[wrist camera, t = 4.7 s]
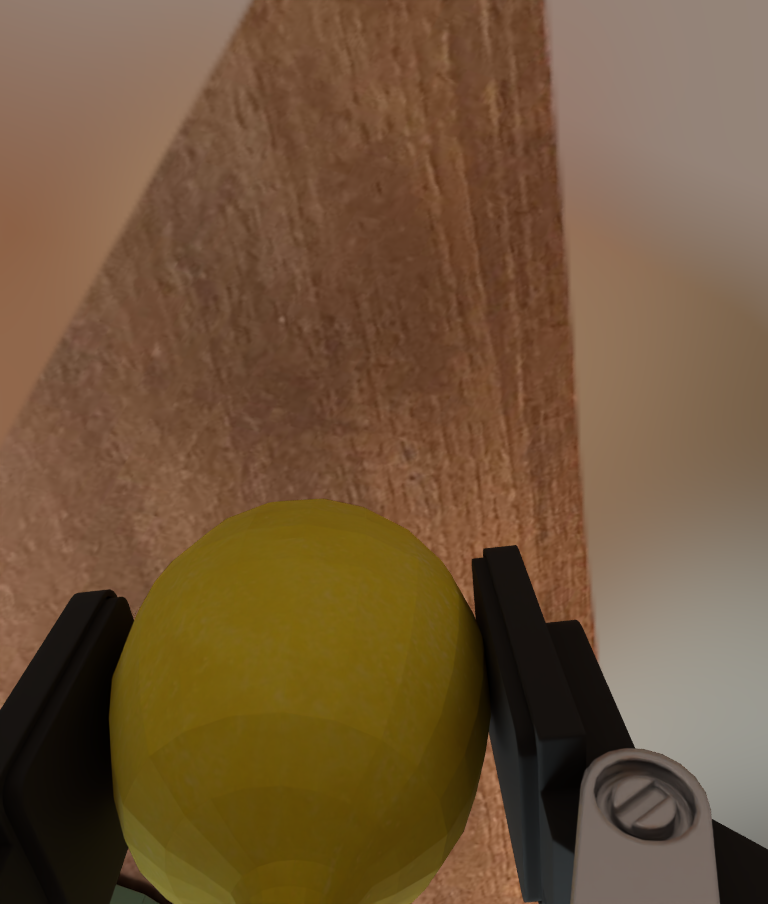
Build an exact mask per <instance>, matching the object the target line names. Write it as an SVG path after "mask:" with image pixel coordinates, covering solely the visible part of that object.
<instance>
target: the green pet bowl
mask: <svg viewBox="0 0 768 904" xmlns="http://www.w3.org/2000/svg"><path fill="white" fill-rule="evenodd" d="M110 904H159V903H158V902H156V901H155V900H153V899H151V898H150V897H148V896H147V895H145V894H142V893H139V892H137V891H134V890H131V889H128V888H125V887H122V886H119V885H117V884H116V886H115V889H114V892H113V895H112V898H111V901H110Z"/></svg>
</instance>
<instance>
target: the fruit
mask: <svg viewBox="0 0 768 904" xmlns="http://www.w3.org/2000/svg"><path fill="white" fill-rule="evenodd" d="M490 719H491V707H490V692H489V683H488V675H487V667H486V658H485V650H484V643H483V637H482V634H481V632H480V629H479V627H478V624H477V622H476V619H475V617H474V614H473V612H472V610H471V609H470V607H469V605H468V603H467V602H466V600H465V598H464V596H463V595H462V593H461V591H460V589H459V588H458V586H457V584H456V582H455V581H454V579H453V577H452V575H451V574H450V572H449V571H448V569H447V568H446V567H445V565H444V564H443V562H442V561H441V560H440V559H439V558H438V557H437V556H436V555H435V554H434V553H433V552H431V551H430V550H429V549H428V548H427V547H426V546H425V545H424V544H423V543H422V542H421V541H420V540H419V539H417V538H416V537H415V536H414V535H413V534H412V533H411V532H410V531H409V530H408V529H406V528H404V527H402V526H400V525H398V524H396V523H394V522H392V521H390V520H388V519H386V518H384V517H382V516H380V515H378V514H376V513H374V512H372V511H370V510H368V509H366V508H364V507H360V506H356V505H351V504H346V503H342V502H337V501H332V500H328V499H308V500H292V501H279V502H270V503H267V504H264V505H261V506H259V507H256V508H254V509H251V510H248V511H246V512H243V513H240V514H238V515H235V516H232V517H230V518H227V519H226V520H224V521H223V522H221V523H220V524H219V525H217V526H216V527H215V528H213V529H212V530H211V531H209V532H208V533H207V534H205V535H204V536H203V537H202V538H201V539H199V540H198V541H197V542H196V543H194V544H193V545H192V546H191V547H189V548H188V549H187V550H186V551H184V552H183V553H182V554H181V555H180V556H178V557H177V558H176V559H175V560H173V561H172V562H171V563H170V564H169V566H168V567H167V568H166V569H165V570H164V571H163V573H162V574H161V575H160V576H159V577H158V579H157V580H156V581H155V582H154V584H153V586H152V588H151V589H150V591H149V593H148V595H147V597H146V598H145V600H144V602H143V604H142V606H141V607H140V609H139V611H138V613H137V615H136V618H135V620H134V623H133V625H132V628H131V630H130V633H129V635H128V638H127V640H126V643H125V645H124V648H123V651H122V653H121V656H120V659H119V661H118V664H117V667H116V669H115V672H114V674H113V677H112V684H111V697H110V710H109V729H110V749H111V766H112V780H113V794H114V801H115V805H116V809H117V813H118V816H119V820H120V824H121V828H122V832H123V835H124V839H125V841H126V843H127V846H128V848H129V850H130V852H131V854H132V856H133V858H134V860H135V863H136V865H137V867H138V869H139V871H140V872H141V873H142V874H143V875H144V876H145V877H146V878H147V880H148V881H149V882H150V883H151V884H152V885H153V886H154V887H155V888H156V889H157V890H158V891H159V892H160V893H161V894H162V895H163V896H164V897H165V898H166V899H167V900H168V901H170V902H172V903H173V904H411V903H412V902H413V901H414V900H415V899H416V898H417V897H418V896H419V895H420V894H421V893H422V892H423V891H424V890H425V889H426V887H427V886H428V885H429V883H430V882H431V880H432V879H433V877H434V876H435V875H436V873H437V872H438V870H439V869H440V867H441V866H442V864H443V863H444V861H445V860H446V858H447V856H448V855H449V853H450V852H451V850H452V849H453V847H454V846H455V844H456V843H457V841H458V839H459V838H460V836H461V835H462V833H463V832H464V829H465V826H466V823H467V820H468V817H469V814H470V811H471V808H472V805H473V802H474V799H475V796H476V792H477V787H478V783H479V779H480V774H481V770H482V766H483V762H484V757H485V752H486V746H487V739H488V732H489V725H490Z"/></svg>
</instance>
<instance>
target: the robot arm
mask: <svg viewBox="0 0 768 904" xmlns="http://www.w3.org/2000/svg"><path fill="white" fill-rule="evenodd" d="M472 574H473V588H474V602H475V616H476V622H477V624H478V627H479V629H480V632H481V634H482V637H483V643H484V650H485V658H486V667H487V675H488V683H489V692H490V707H491V719H490V725H489V735H490V740H491V745H492V750H493V755H494V760H495V765H496V770H497V774H498V779H499V784H500V789H501V794H502V799H503V804H504V809H505V814H506V819H507V824H508V828H509V833H510V838H511V843H512V848H513V853H514V858H515V863H516V868H517V873H518V878H519V882H520V887H521V892H522V897H523V900H524V902H536V901H538V903H539V904H768V849H766V848H764V847H762V846H761V845H759V844H757V843H755V842H753V841H751V840H749V839H748V838H746V837H744V836H742V835H740V834H738V833H737V832H735V831H733V830H731V829H729V828H728V827H726V826H724V825H722V824H720V823H718V822H716V821H715V820H713V819H712V818H711V809H710V805H709V802H708V799H707V795H706V792H705V791H704V789H703V788H702V786H701V785H700V783H699V782H698V780H697V779H696V777H695V776H694V775H693V774H691V773H690V772H689V771H688V770H687V769H686V768H685V767H683V766H682V765H681V764H679V763H678V762H676V761H674V760H672V759H670V758H668V757H667V756H665V755H663V754H660V753H656V752H652V751H649V750H645V749H635V747H634V744H633V742H632V740H631V738H630V735H629V733H628V731H627V729H626V726H625V724H624V721H623V719H622V717H621V715H620V712H619V710H618V708H617V706H616V703H615V701H614V699H613V697H612V694H611V692H610V689H609V687H608V685H607V683H606V680H605V678H604V676H603V673H602V671H601V669H600V666H599V664H598V662H597V660H596V657H595V655H594V653H593V650H592V648H591V646H590V644H589V641H588V639H587V637H586V634H585V632H584V630H583V628H582V626H581V624H580V622H579V621H577V620H569V621H560V622H550V623H545V620H544V617H543V614H542V612H541V609H540V606H539V603H538V601H537V598H536V595H535V592H534V590H533V587H532V584H531V582H530V579H529V576H528V573H527V571H526V568H525V565H524V562H523V560H522V557H521V554H520V551H519V549H518V547H517V546H516V545H513V546H504V547H495V548H485V549H484V550H483V558H475V559H472ZM133 623H134V619H133V616H132V613H131V610H130V607H129V604H128V602H127V600H126V599H125V598H124V597H117V595H116V594H115V593H114V591H112V590H110V589H109V590H100V591H91V592H82V593H77V594H74V596H73V597H72V598H71V599H70V601H69V602H68V604H67V606H66V607H65V609H64V610H63V612H62V613H61V615H60V617H59V618H58V620H57V621H56V623H55V624H54V626H53V628H52V629H51V631H50V632H49V634H48V635H47V637H46V639H45V640H44V642H43V643H42V645H41V647H40V648H39V650H38V651H37V653H36V654H35V656H34V658H33V659H32V661H31V662H30V664H29V665H28V667H27V669H26V670H25V672H24V673H23V675H22V676H21V678H20V680H19V681H18V683H17V684H16V686H15V688H14V689H13V691H12V692H11V694H10V695H9V697H8V699H7V700H6V702H5V703H4V705H3V706H2V708H1V710H0V904H110V901H111V898H112V895H113V892H114V889H115V886H116V883H117V880H118V877H119V874H120V871H121V868H122V865H123V862H124V859H125V856H126V853H127V850H128V846H127V843H126V841H125V839H124V835H123V832H122V828H121V824H120V820H119V816H118V813H117V809H116V805H115V801H114V794H113V780H112V766H111V749H110V729H109V710H110V697H111V684H112V677H113V674H114V672H115V669H116V667H117V664H118V661H119V659H120V656H121V653H122V651H123V648H124V645H125V643H126V640H127V638H128V635H129V633H130V630H131V628H132V625H133Z"/></svg>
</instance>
